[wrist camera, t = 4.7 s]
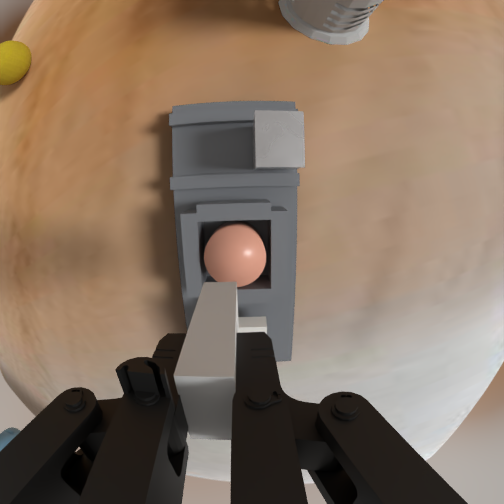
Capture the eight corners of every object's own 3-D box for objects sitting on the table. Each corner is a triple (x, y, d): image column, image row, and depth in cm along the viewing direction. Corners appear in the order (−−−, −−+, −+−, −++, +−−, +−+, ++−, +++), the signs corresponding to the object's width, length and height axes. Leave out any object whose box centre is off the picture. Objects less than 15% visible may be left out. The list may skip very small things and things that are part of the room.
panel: (195, 351, 28) (187, 381, 23) (178, 111, 21) (162, 96, 16) (288, 349, 28) (295, 379, 23) (291, 107, 21) (302, 91, 17)
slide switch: (253, 169, 21) (255, 167, 16) (252, 125, 20) (254, 110, 15) (291, 169, 21) (304, 167, 16) (290, 125, 20) (303, 111, 15)
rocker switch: (217, 367, 24) (216, 382, 22) (209, 317, 21) (207, 333, 19) (264, 366, 24) (265, 382, 22) (265, 316, 21) (267, 332, 19)
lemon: (48, 46, 17) (10, 27, 10) (34, 86, 19) (-10, 74, 11) (22, 55, 17) (-15, 41, 9) (9, 92, 19) (-31, 84, 11)
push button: (210, 273, 23) (206, 287, 20) (207, 221, 22) (202, 228, 19) (263, 272, 23) (266, 286, 20) (263, 219, 22) (266, 226, 19)
